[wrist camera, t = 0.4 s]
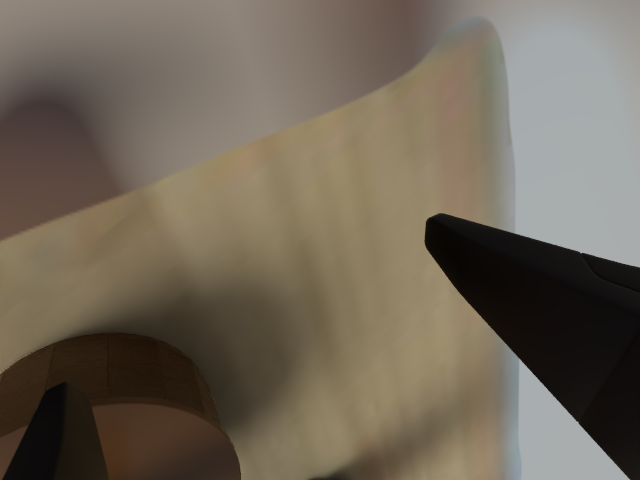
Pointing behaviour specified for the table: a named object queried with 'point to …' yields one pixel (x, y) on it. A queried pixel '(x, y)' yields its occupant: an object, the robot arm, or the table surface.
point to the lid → (150, 441)
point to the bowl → (104, 374)
